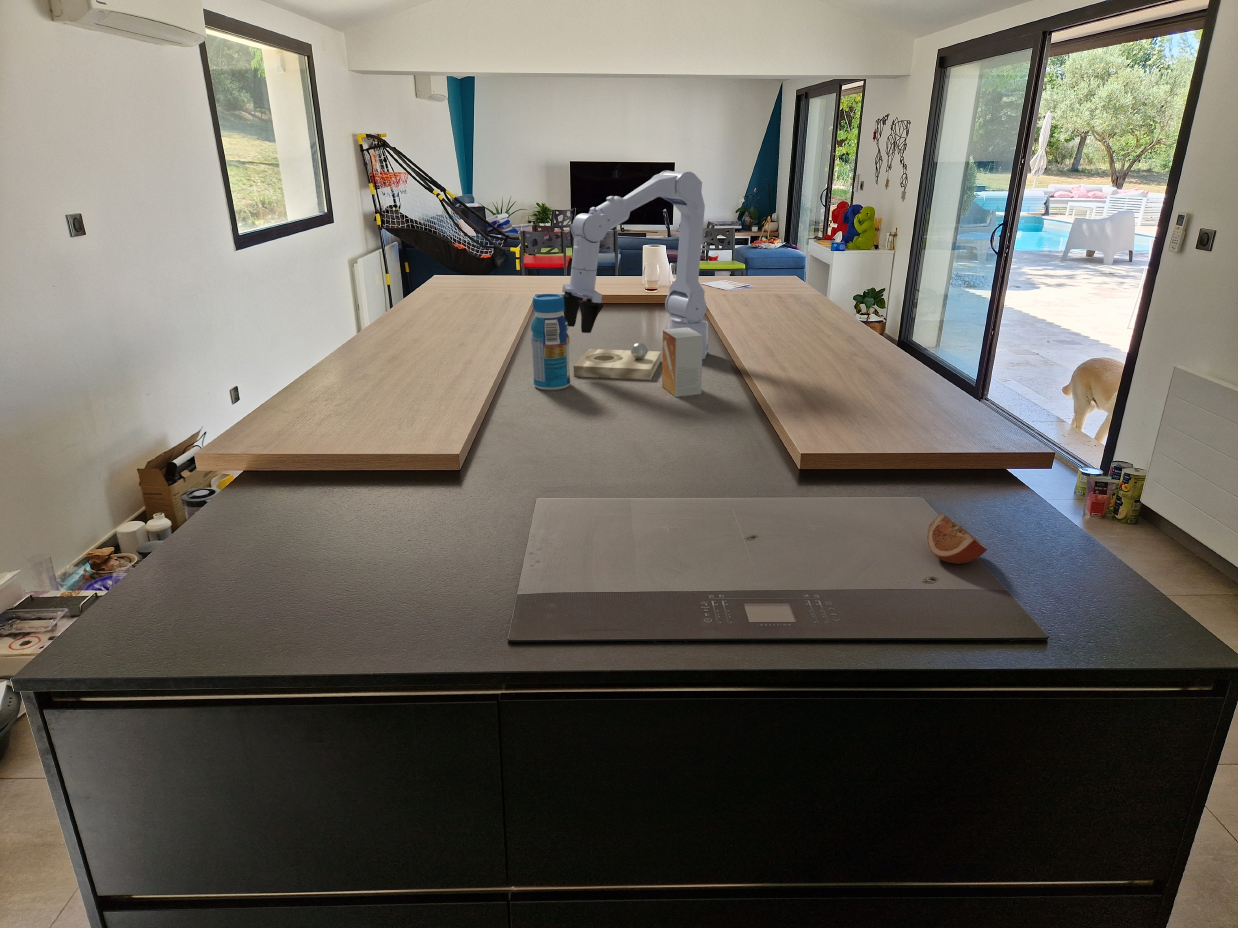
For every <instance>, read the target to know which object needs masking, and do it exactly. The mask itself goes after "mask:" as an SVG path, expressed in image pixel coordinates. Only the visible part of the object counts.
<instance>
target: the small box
mask: <svg viewBox="0 0 1238 928" xmlns="http://www.w3.org/2000/svg"><path fill="white" fill-rule="evenodd" d="M702 346H703V336H702V335H701V334H699V333H697V332H696V331H694V330H692V329H690V328H675V329H671V328H667V329H662V354H661V361H662V367H661V368H662V369H661V371H662V372H661V376H662V377H661V382H662V383H661V386H662V388H664V389H665V390H666V391H667V392H669V393H670V395H673V397H675V398H679V397H687V396H696V395H702V382H703V381H702V377H703V375H702V373H703V370H702V369H703V359H702Z"/></svg>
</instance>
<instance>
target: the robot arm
mask: <svg viewBox="0 0 1238 928" xmlns="http://www.w3.org/2000/svg"><path fill="white" fill-rule="evenodd" d="M702 188H703V181H702V180H701V179H700V178H699V177H698V176H697V175H696V174H695V173H694V172H693V171H676V170H675V171H674V170H673V171H672V170H670V169H669V170H668V169H667V170H663V171H661V172H660V173H657V174H655V175H653V176H652V177H651V178H650V179H649V180H648V181H646V182H645V183H643V184H642V185H640V186H638V187H637V188H635V189H633V191H631V192H630V193H628V194H626V195H625V196H624V197H621V196H619V195H618V196H617V195H615V196H614V195H610V196H607V197H606V199H605V200H606V201H605V202H603V203H601V204H600V205H598V206H596V207H595V206H592V207H590V208H589V211H588V213H585V212H584V213H583V212H582V213H579V214H577V215H576V216H575V217H574V219H573V220H572V223H571V224H570V225H569V228H570V232H571V235H572V237H573V249H572V257H571V258H572V261H571V269H570V270H571V271H570V279H569V283H568V284H567V283H563V284H562V290H561V291H562V292H561V293H563V294H561V295H562V296H563V297H564V312H563V316H564V318H565V319H566V321H567V323H568V328H569V327H571V328H572V327H573V328H574V327H575V325H576V323H577V317H578V312H579V310H580V318H581V319H580V320H581V321H580V329H581V333H582V334H591V333H592V330H593V328H594V325H595V322H596V320H597V318H598V315H599V314H600V312H601V311H602V310H603V308H604V306H605V304H604V302H603V303H602V301H603V299H602V298H603V294H602V293H600V292H598V290H595V289H596V288H595V287H596V281H597V270H598V263H599V254H600V246H601V245H600V243H601V241H603V239H604V238H605V237H606V234H607V232H609V231H611V230H612V229H614V228H615V227H617V226H618V225H621V224H622V223H624V222H627V220H628V219H629V217H630V214H631V212H632V211H634V210H635V209H638V208H639V207H642V206H643V205H645V204H647V203H649V202H650V201H653V200H655V199H657V198H662V199H664V200H665V201H667V202H669V203H670V204H672V205H673V206H674V207H675V208H676V209H677V211H678V212H679V213H680V222H679V223H680V225H679V237H678V247H677V249H678V250H677V260H676V261H677V263H676V272H675V273H676V276H675V280H674V281H673V282H672V283H671V284H670V285H669V288H668V289H669V290H668V294H667V296H666V298H665V302H664V308H665V310H666V312H667V313H668V314H669V319H670V329H675V328H690V329H692V330H694V331H696V332H697V333H699V334H701V335H702V336H703V346H702V360H705V359H706V357H707V354H708V351H709V343H708V342H709V322H708V321H707V320H702V318H703V317H704V316H705V314H706V312H707V302H706V300H705V292H706V291H705V289H704V288H703V286H702V285H701V283H700V282H699V278H700V277H699V276H700V268H701V267H700V265H701V254H702V241H703V231H704V222H705V221H704V219H705V212H706V211H705V207H706V206H705V205H706V204H705V201H704V197H703V194H702V190H703V189H702ZM583 299H584V300H583Z"/></svg>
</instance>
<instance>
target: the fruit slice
mask: <svg viewBox="0 0 1238 928" xmlns="http://www.w3.org/2000/svg"><path fill="white" fill-rule="evenodd" d="M926 537H927V538H926V539H927V545H928V549H929V550H930V552H931V553H932V554H933V555H934V556H935V557H936V558H938V559H940V560H941V561H942V562H943V561H944V562H946V563H950V564H965V563H969V562H971V561H972V562H973V561H974V560H976V559H979V558H980V557H981V556H983V555H984V554H985V553H986V552H987V550H988V548H987V547H986V546H984V545H983V543H981V542H980V541H979V540H978V539H976V538H975V537H974V536H973V535H972V534H971V533H970V532H968V531H967V530H966V529H965V528H963V525H959V524H958V523H956V522H955V521H954V520H952V519H951V518H949V517H948V516H947V515H946V514H944V513H943V512H940V513H939V514H938V516H936V518H935V519H933V521H932V522H931V523H930V524H929V525H928V530H927V535H926Z"/></svg>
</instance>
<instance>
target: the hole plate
mask: <svg viewBox="0 0 1238 928" xmlns="http://www.w3.org/2000/svg"><path fill="white" fill-rule="evenodd" d="M661 361H662V351H657V350H655V351H653V350H648V353H647V355H646V357H645V358H644V359H641V360H637V359H635V358H633V356H632V355H631V349H629V350H627V349H605V348H604V349H603V348H602V349H601V348H589V349H588V350H586V352H585V353H584V354H583V355H582V356H581V357H580V358H579V359H578V360H577V362H576V363H574V365H573V377H581V378H585V377H586V378H599V377H601V378H602V379H603V378H604V379H622V380H623V379H624V380H644V381H645V380H646V381H647V380H649V381H651V380H652V378H653V376H654V374H655V373H656V371H657V369H658V367H659V365H660V363H661Z"/></svg>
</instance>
